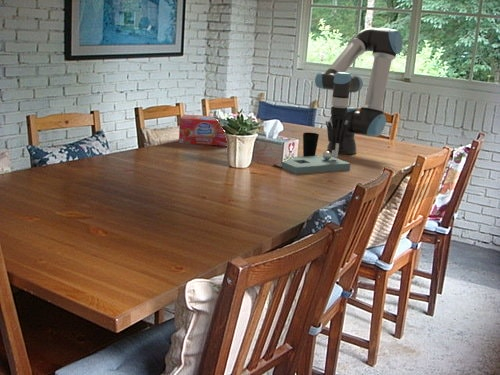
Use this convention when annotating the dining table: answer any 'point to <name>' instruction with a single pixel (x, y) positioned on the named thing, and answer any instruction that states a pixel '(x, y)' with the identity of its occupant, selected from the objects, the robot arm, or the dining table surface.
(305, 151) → the cup
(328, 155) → the ball
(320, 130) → the dining table surface
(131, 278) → the dining table surface
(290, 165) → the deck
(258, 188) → the dining table surface
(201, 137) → the box
